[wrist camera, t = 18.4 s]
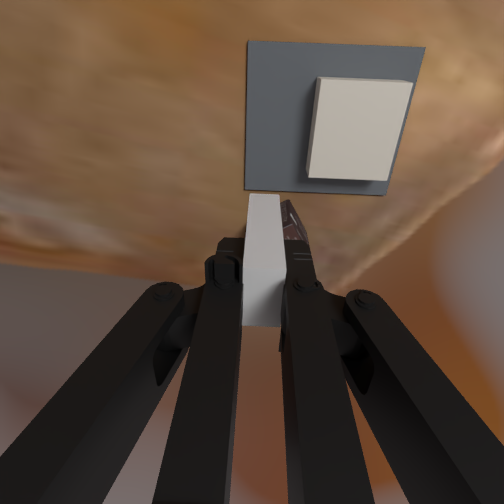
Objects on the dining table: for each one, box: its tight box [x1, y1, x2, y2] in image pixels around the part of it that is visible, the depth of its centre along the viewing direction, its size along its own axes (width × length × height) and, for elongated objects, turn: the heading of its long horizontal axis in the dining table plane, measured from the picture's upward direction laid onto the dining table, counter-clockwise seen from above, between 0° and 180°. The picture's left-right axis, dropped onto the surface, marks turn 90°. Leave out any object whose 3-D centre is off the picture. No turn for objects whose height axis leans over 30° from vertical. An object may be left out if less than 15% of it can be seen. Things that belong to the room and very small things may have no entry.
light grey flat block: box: [306, 77, 413, 181], centre depth 36 cm, size 3×10×9 cm
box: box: [280, 200, 309, 245], centre depth 42 cm, size 6×6×7 cm
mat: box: [245, 41, 426, 195], centre depth 38 cm, size 18×16×1 cm
